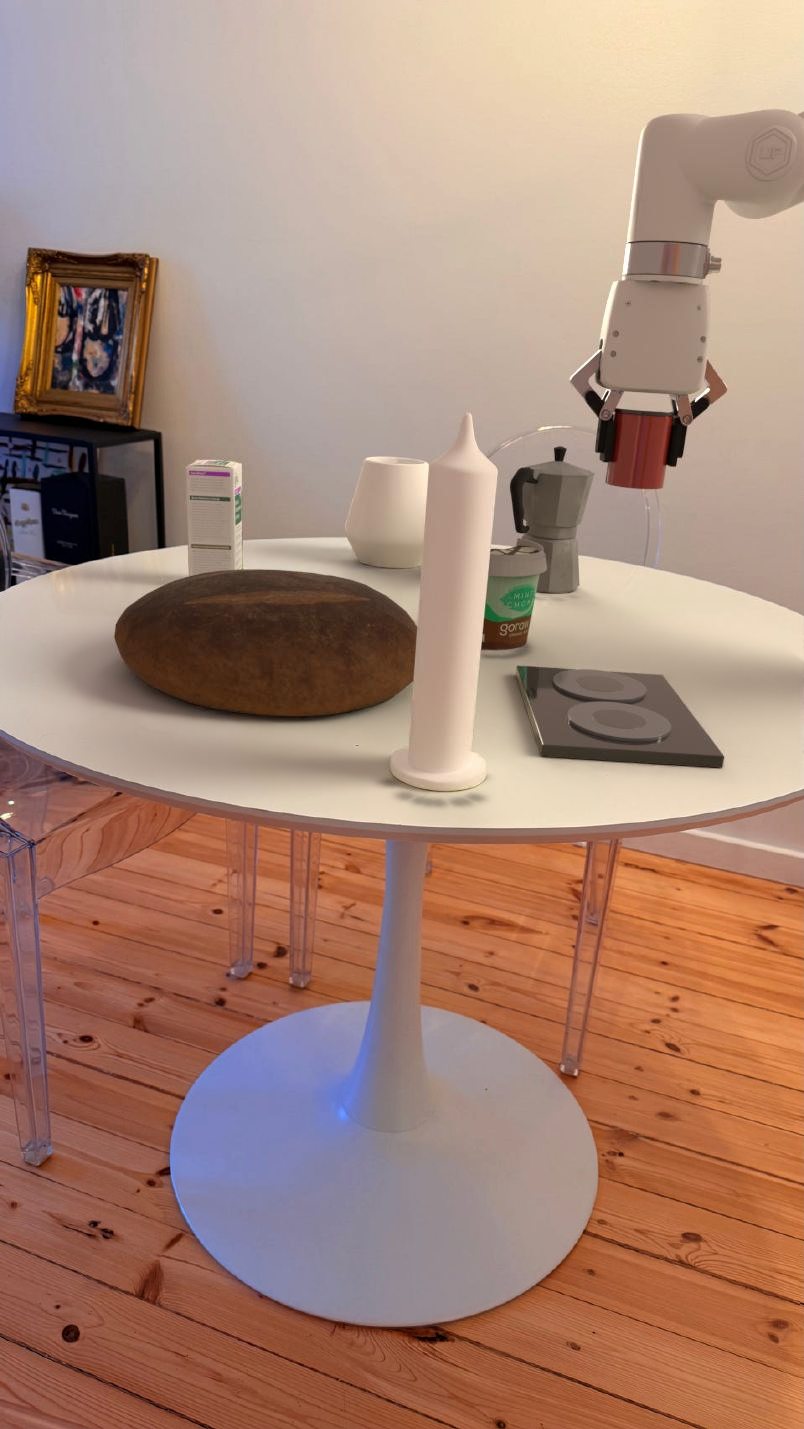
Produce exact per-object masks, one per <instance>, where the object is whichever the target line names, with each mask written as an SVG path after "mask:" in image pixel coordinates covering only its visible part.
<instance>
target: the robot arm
mask: <svg viewBox="0 0 804 1429" xmlns="http://www.w3.org/2000/svg"><path fill="white" fill-rule="evenodd" d="M631 197H632V198H631V206H630V214H629V221H628V230H627V238H626V246H625V253H624V262H623V271H622V279H621V280H614V281H613V282H612V285H611V287H610V290H609V295H608V298H607V302H606V305H605V310H604V314H603V319H602V324H601V330H600V335H599V341H598V347H597V352H595V353H594V354H593V355H592V356H591V357H590V358H589V359H588V360H587V361H586V362H585V363H584V364H582V365H581V366H580V367H579V368H578V369H577V370H576V371H575V372H574V373H573V374H571V376H570V377H569V384H570V385H571V386H572V387H573V388H574V389H575V391H576V392H577V393H578V395H579V396H581V398H582V399H583V401H585V403H586V404H587V406H588V407H589V408H590V410H591V411H592V412H593V413H594V414H595V416H596V417H597V418H598V419H597V420H598V421H597V428H596V435H595V436H596V438H595V445H594V452H595V454H596V453H597V454H599V461H601V462H602V463H607V464H608V463H609V461H610V462H611V460H612V452H613V445H614V437H615V429H616V422H615V421H613V419H614V411H615V409H616V407H618V405H619V403H620V400H621V399H622V397H623V395H624V393H625V392H626V393H627V392H629V393H630V392H631V393H641V394H642V393H643V394H644V393H645V394H660V395H668V396H669V399H670V400H669V402H670V406H671V411H675V416H674V418H673V425H672V432H671V438H670V445H669V452H668V459H667V465H666V466H668V467H670V468H676V467H677V465H678V459H682V458H683V456H684V453H685V452H684V451H685V445H686V444H685V443H686V439H687V432H688V426H691V424H692V423H693V421H694V420H696V419H697V418H698V417H699V416H701V415H702V413H704V412H705V411H706V410H707V409H708V408H709V407H710V406H711V405H713V404H714V403H716V402H717V401H718V400H719V399H720V398H722V397H723V396H724V395H725V394H727V392H728V386H727V384H726V383H725V381H724V380H723V379H722V377H721V376H720V375H719V373H718V372H717V370H716V368H715V367H714V366H713V365H712V363H711V362H710V360H709V359H708V353H709V341H710V340H709V339H710V324H711V323H710V320H711V298H710V296H711V295H710V286H709V285H708V284H704V280H705V279H706V277H707V276H708V275H711V274H720V272H721V269H722V264H723V262H722V261H723V260H722V257H715V256H714V255H711V254H712V253H711V248H709V245H710V239H711V232H712V226H713V225H712V224H713V219H714V211H715V206H716V203H717V202H718V201H723V202H724V204H725V205H726V207H727V208H728V209H729V210H730V211H731V212H732V213H734V214H736V215H737V216H739V217H741V218H745V219H750V220H761V219H766V218H770V217H772V216H775V215H778V214H779V213H782V212H785V211H786V210H789V209H790V208H793V207H795V206H797V205H799V204H802V203H804V111H801V112H799V113H795V112H792V111H790V110H785V109H778V108H777V109H776V108H773V109H772V108H771V109H770V108H769V109H761V110H755V111H754V110H753V111H749V112H748V111H747V112H743V113H742V112H741V113H737V114H736V113H735V114H728V115H719V116H708V115H704V114H698V113H669V114H663V115H659V116H657V117H654V118H652V119H650V120H648V122H647V123H646V124H645V126H644V127H643V128H642V130H641V133H640V137H639V141H638V149H637V157H636V164H635V174H634V180H633V188H632V196H631ZM593 375H594V382H595V383H596V384H597V385H598V386H599V387H601V388H604V389H605V392H604V393H603V396H602V397H601V396H600V395H599V394H598V393H597V391H595V390H594V388H593V387H592V386H591V385H590V381H589V380H590V378H591V377H592V376H593ZM704 383H705V385H706V388H705V391H703V392H702V393H701V394H700V395H699V396H697V397H696V398H694V399H693V400H692V401H690V397H689V395H692V394H695V393H697V392H699V391H700V390H701V389H702V387H703V384H704Z"/></svg>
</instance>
